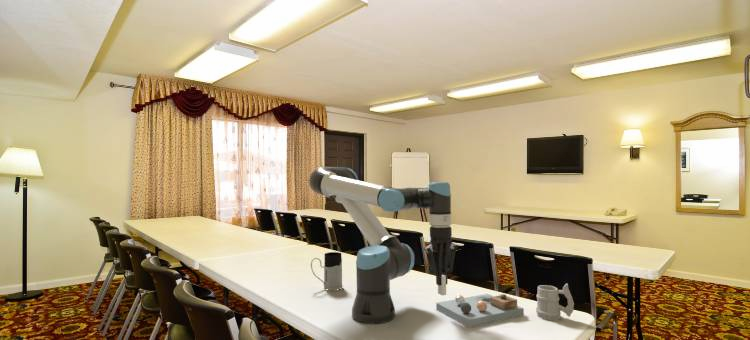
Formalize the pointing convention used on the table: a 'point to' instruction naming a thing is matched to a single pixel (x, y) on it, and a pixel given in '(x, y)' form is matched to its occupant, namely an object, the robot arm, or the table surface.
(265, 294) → the table surface
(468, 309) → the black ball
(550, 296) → the mug
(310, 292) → the table surface
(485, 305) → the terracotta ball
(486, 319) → the board
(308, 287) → the table surface
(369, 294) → the robot arm
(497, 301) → the cover
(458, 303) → the steel ball
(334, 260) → the glass holder
